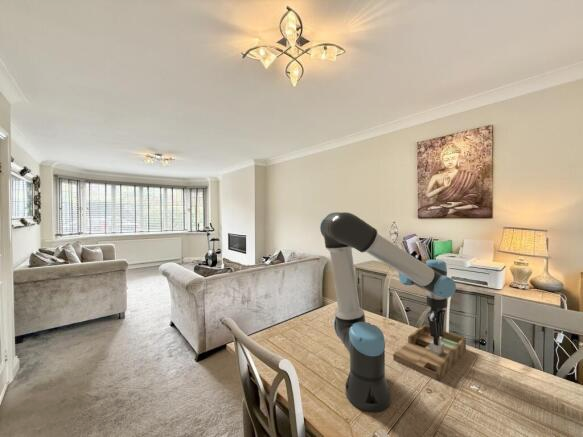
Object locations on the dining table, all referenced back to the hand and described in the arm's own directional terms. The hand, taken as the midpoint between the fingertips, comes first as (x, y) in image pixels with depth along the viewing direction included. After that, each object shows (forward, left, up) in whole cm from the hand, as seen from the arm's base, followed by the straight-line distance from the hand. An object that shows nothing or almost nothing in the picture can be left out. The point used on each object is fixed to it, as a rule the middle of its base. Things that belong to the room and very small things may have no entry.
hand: (437, 351), depth 104 cm
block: (+3, +1, -2) cm, 3 cm away
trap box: (+3, +4, -4) cm, 6 cm away
